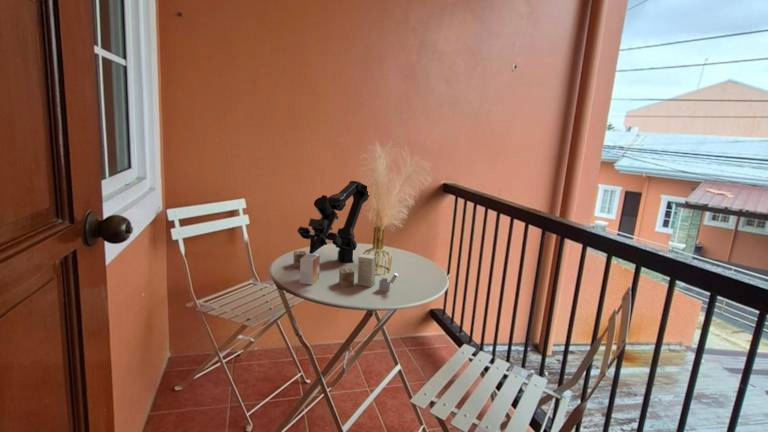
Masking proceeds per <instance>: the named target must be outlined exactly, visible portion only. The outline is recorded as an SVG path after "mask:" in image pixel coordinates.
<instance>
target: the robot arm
mask: <svg viewBox="0 0 768 432" xmlns="http://www.w3.org/2000/svg"><path fill="white" fill-rule="evenodd" d="M367 186H368V185H366V184H363V183H362V182H360V181H358V180H357V181H356V180H350V181H349V182H348V184H346V186H345V187H343V188H342V189H341V190H340V191H339V192H337V193H334V194H331V195H330V196H328V195H324V194H323V195H321V196H320V197H317V198H316V199H315V200H314V202H313V206H314V207H315V209H316V211H317V212H318V213H319V215H320V216H321V217H320V218H317V219H316V218H309V222H308V227H305V226H299V227H298V229H296V230H297V233H298V235H300V237H301V238H302V239H306V240H310V242H309V243H310V245H309V252H308V253H310V254H315V253H316V252H317V251H319V249H321V248H322V247H324V246H325V245H326V246H327V245H328V241H331V242H332V244H333V246H335V247H336V248H338V250H337V260H338V261H339V263H345V264H346V263H354V260H353V259H354V257H353V256H354V251H356V249H357V247H358V246H357V245H358V244H357V242H356V240H355V237H356V236H355V232H354V230H355V228H356V225H357V221H358V218H359V216H360V213H361V210H362V207H363V205H364V203H366V202H367V201H368V200H369V197H370V195H368V191H367ZM351 197H352V203H351V206H350V208H349V212H348V214H347V217H346V220H345V223H344V225H343V227H342V228H338V229H337V232H332V230H333V224H334V222H335V221H336V220H339V216H338V212H341V211H343V210H344V209H345V207H346V206H347V205H346V204H347V203H346V202H347V201H348V200H349V199H350V198H351ZM336 211H338V212H336ZM309 227H311V229H309ZM330 231H331V232H330Z"/></svg>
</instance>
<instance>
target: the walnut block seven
mask: <svg viewBox="0 0 768 432" xmlns="http://www.w3.org/2000/svg"><path fill="white" fill-rule="evenodd" d="M306 254H307V253H306V250H303V251H301V250H296V251H293V266H294V268H295V269H296V268H297V269H298V268H299V269H300V259H301V258H302V257H304V256H305V255H306Z"/></svg>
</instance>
